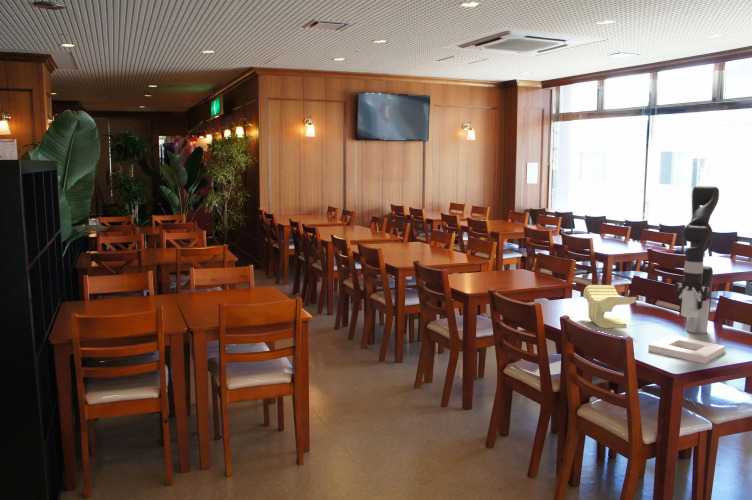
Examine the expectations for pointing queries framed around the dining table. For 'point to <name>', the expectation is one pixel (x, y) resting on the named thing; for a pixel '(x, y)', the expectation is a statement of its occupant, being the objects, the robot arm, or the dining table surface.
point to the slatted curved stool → (605, 304)
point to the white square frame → (701, 355)
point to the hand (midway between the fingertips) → (690, 308)
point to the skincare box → (689, 304)
